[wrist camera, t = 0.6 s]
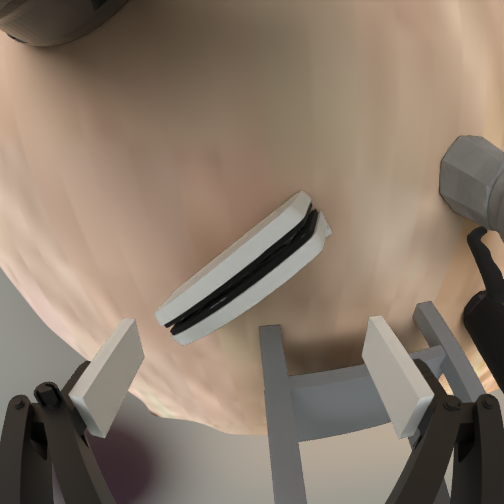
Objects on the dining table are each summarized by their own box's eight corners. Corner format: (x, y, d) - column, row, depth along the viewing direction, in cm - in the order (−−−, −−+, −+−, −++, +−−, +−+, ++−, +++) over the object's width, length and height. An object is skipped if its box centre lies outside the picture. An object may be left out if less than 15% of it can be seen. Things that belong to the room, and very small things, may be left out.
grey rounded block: (208, 316, 32) (173, 372, 22) (180, 284, 31) (135, 331, 22) (334, 226, 27) (350, 260, 17) (303, 186, 26) (303, 198, 17)
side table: (256, 325, 33) (280, 598, 8) (433, 299, 33) (529, 490, 8) (262, 398, 43) (278, 572, 17) (398, 374, 43) (448, 521, 17)
